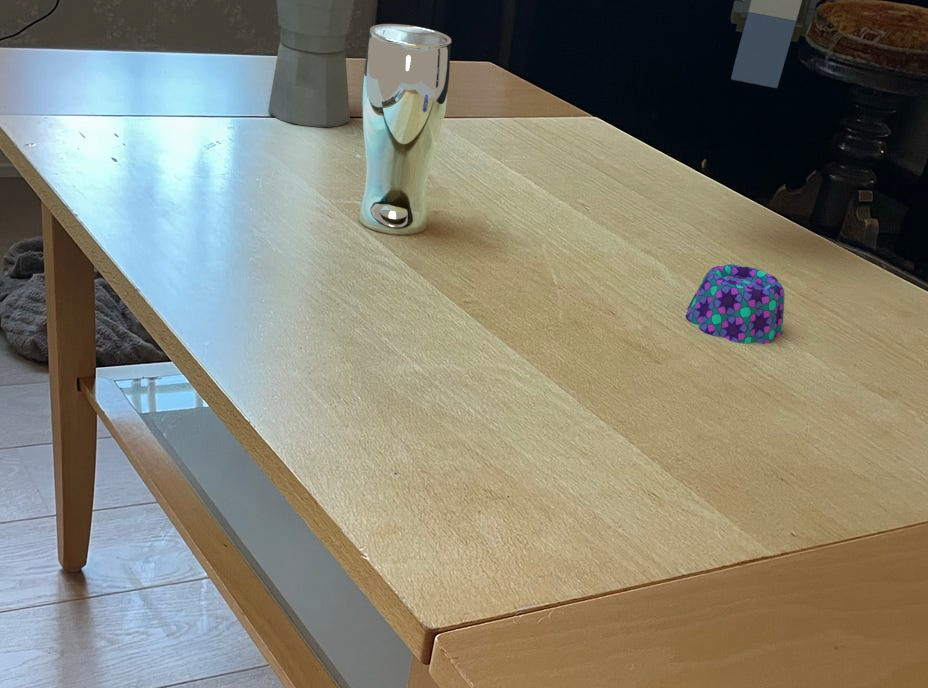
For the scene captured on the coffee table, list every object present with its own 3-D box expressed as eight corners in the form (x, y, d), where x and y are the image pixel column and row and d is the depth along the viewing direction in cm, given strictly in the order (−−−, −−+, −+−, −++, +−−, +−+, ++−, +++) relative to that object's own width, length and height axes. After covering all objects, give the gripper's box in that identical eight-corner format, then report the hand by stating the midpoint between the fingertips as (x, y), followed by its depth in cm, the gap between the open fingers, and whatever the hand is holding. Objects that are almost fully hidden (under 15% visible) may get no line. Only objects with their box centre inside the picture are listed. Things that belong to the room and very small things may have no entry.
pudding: (666, 298, 96) (682, 235, 92) (810, 334, 93) (832, 271, 90) (637, 351, 86) (653, 283, 83) (795, 393, 84) (819, 324, 81)
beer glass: (339, 209, 102) (352, 21, 93) (410, 206, 105) (429, 24, 96) (373, 239, 98) (390, 44, 88) (445, 235, 101) (469, 46, 91)
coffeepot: (374, 133, 121) (390, -65, 110) (290, 134, 117) (298, -71, 106) (319, 91, 132) (328, -94, 120) (239, 90, 128) (242, -101, 116)
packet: (778, 74, 104) (806, -27, 99) (777, 88, 99) (807, -17, 94) (734, 65, 104) (760, -36, 99) (730, 79, 99) (758, -26, 94)
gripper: (883, -102, 102) (841, 74, 100) (724, -129, 104) (679, 43, 102) (910, -173, 95) (864, 16, 93) (737, -201, 96) (690, -16, 95)
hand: (768, 29), depth 97 cm, fingers closed on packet, 4 cm apart
